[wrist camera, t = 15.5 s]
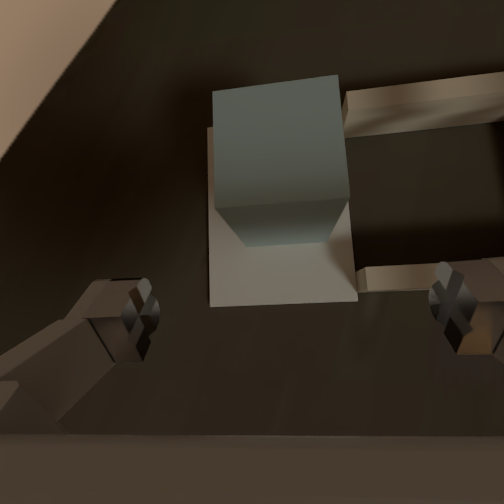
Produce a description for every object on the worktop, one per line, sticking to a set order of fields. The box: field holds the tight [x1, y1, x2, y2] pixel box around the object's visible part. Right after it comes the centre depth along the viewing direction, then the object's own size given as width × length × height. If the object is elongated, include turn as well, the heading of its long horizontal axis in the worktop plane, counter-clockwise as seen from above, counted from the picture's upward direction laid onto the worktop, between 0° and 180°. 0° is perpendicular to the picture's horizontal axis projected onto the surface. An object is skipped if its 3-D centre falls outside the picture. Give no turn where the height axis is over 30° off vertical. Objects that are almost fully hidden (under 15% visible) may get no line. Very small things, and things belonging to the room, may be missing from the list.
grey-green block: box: [213, 75, 350, 247], centre depth 15 cm, size 5×5×8 cm
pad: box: [207, 127, 358, 307], centre depth 20 cm, size 9×12×1 cm
